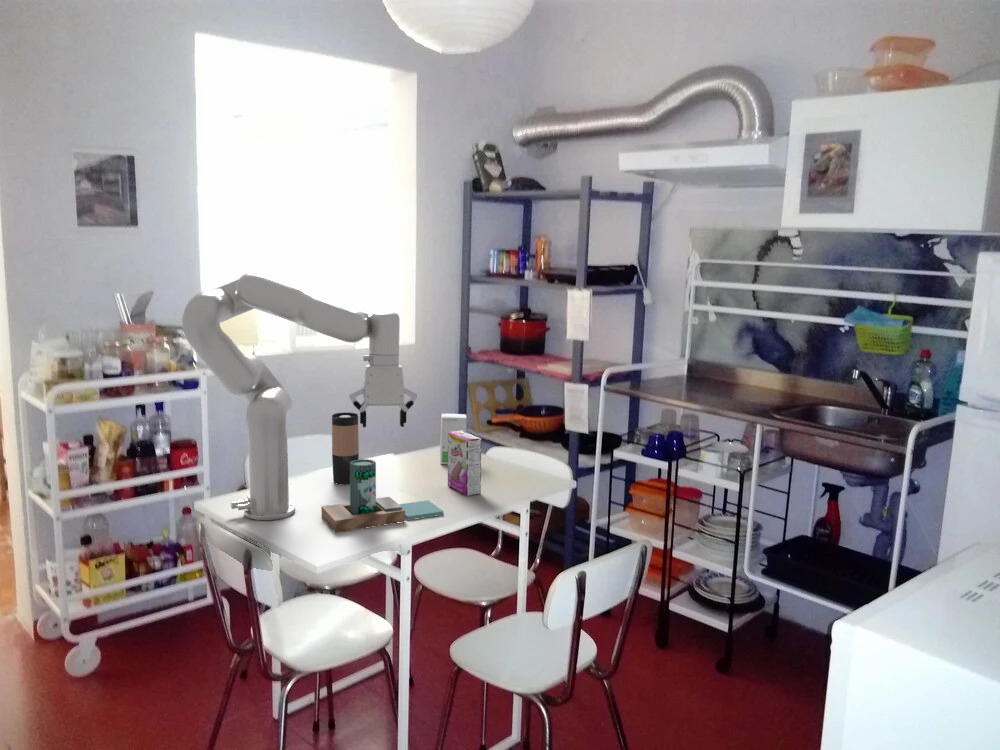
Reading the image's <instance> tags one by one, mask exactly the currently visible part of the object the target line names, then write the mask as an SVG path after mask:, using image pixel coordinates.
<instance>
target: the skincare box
mask: <svg viewBox="0 0 1000 750" xmlns="http://www.w3.org/2000/svg"><path fill="white" fill-rule="evenodd" d="M440 416H441V419H440V439H439V440H440V447H439V464H440V465H448V432H452V431H461V430H462V431H464V432H466V433H467V420H468V417H467V414H465V413H464V414H462V413H441V415H440Z"/></svg>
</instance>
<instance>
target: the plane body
mask: <svg viewBox="0 0 1000 750" xmlns="http://www.w3.org/2000/svg"><path fill="white" fill-rule="evenodd" d="M399 504H400V503H398V502H396V501H395V500H394V499H393V498H392V497H391V496H386V497H385V496H384V497H379V498H377V497H376V512H373V513H366V514H359V515H352V514H351V513H350V501H349V502H343V503H336V504H329V505H321V506H320V507H321V519H322V520H323V521H324V522H325V523H326V524H327V525H328V526H329V528H330V529H331V530H332V531H333V532H334V533H342V532H349V531H355V530H356V531H357V530H361V528H363V529H367V528H366V527H370V528H373V527H372V526H376V527H379V526H378V525H383V526H385V525H384V524H389V525H391V524H390V523H396V524H398V523H397V522H403V523H405V522H406V519H405V510H404V509H402V507H401V506H400V505H399ZM404 521H405V522H404Z"/></svg>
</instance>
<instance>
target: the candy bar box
mask: <svg viewBox="0 0 1000 750" xmlns="http://www.w3.org/2000/svg"><path fill="white" fill-rule="evenodd" d="M481 477H482V438H481V437H478V436H476V435H473V434H471V433H470V432H467V431H466V432H464V431H462V430H461V431H452V432H448V464H447V487H449V488H451V489H453V490H454V489H455V491H457V492H459V493H460V494H462V495H464V496H465V497H471V495H472V496H475V495H481V493H482V491H481V490H482V489H481V484H482V483H481V482H482V478H481Z"/></svg>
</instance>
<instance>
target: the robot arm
mask: <svg viewBox="0 0 1000 750" xmlns="http://www.w3.org/2000/svg"><path fill="white" fill-rule="evenodd" d="M254 309H255V310H258V311H261V312H265V313H266V314H270V315H273V316H275V317H279V318H281V319H285V320H286V321H289V322H291V323H292V322H293V323H295V324H297V325H299V326H302V327H305V328H306V329H310V330H312V331H314V332H317V333H319V334H322V335H325V336H327V337H331V338H333V339H337V340H339V341H343V342H345V343H359V342H360V341H362V340H363V339H365V338H368V340H369V341H368V342H369V345H368V346H369V350H368V354H367V355H363V359H362V360H363V362H367V363H368V364H367V365H366V367H365V371H364V372H365V373H364V379H363V387H361V388H359V389H357V390H355V391H353V392H351V393H349V394H348V396H349V400H350V401H351V403H352V404H353V406H354V407H355V408H356V409H357V410H358V411H359V420H360V421H359V424H360V425H361V424H362V428H363V429H364V428H366V427H367V408H368V407H369V406H371V407H372V406H374V407H375V406H377V407H379V406H382V407H383V406H384V407H386V406H399V407H400V411H399V425H400V427H401V428H404V427H405V424H406V423H407V413H408V411H409V410H410V408H412V407H413V405H414V403H415V402H416V400H417V398H418V394H417V393H416V392H414V391H412V390H411V389H408V388H407V387H405V383H404V382H405V381H404V378H405V377H404V371H403V366H402V365H400V326H401V325H400V324H401V323H400V315H399V314H398V313H397V312H395V311H394V312H393V311H373V312H372V311H366V310H360V309H349V310H348V309H345V308H342V307H338V306H337V305H336V306H335V305H333V304H330V303H328V302H326V301H324V300H322V299H319V298H318V297H316V296H315V295H314V294H312V293H311V292H309V291H308V290H307V289H304V288H301V287H297V286H294V285H292V284H289V283H287V282H284V281H281V280H277V279H276V278H275V279H274V278H272V277H271V276H270V275H269V274H268V273H265V272H262V271H252V272H247V273H244V274H243V275H241V276H240V278H239V279H236V280H234V281H231V282H229V283H226V284H223V285H221V286H218V287H216V288H214V289H210V290H204V291H201V292H198V293H197V294H194V296H193V297H191V298H190V300H189V301H188V302H187V304H186V306H185V308H184V310H183V314H182V318H181V323H182V332H183V334H184V336H185V338H186V340H187V342H188V343H189V345H190V346H191V348H192V349H193V350H194V352H195V353H196V354H197V356H199V357H200V359H201V360H202V361H203V362H204V363H205V366H207V367H208V369H209V370H210V371H211V373H213V375H214V376H215V377H216V378H217V380H218V381H219V383H220V384H221V385H222V386H223V387H224V389H225V390H226V391H227V392H228V393H230V394H231V395H234V396H238V397H242V396H243V397H244V398H246V400H247V401H248V402H249V403H248V404H247V407H246V412H245V423H246V431H247V441H248V444H247V445H248V465H249V470H248V471H249V494H247V496H246V497H247V498H243V500H233V501H230V507H231V510H235V509H237V510H238V511H244V512H243V513H244V514H243V516H245V517H246V518H247V519H251V520H254V521H274V520H280V519H284V518H288V517H289V516H290V517H291V516H292V515H293V514H294V513H296V506H295V505H294V504H293V503H292V502H289V501H290V498H289V497H290V493H289V492H290V491H289V488H290V487H289V452H288V450H289V449H288V432H287V417H288V416H289V415H290V412H291V410H292V407H293V406H292V404H293V403H292V399H291V396H290V394H289V393H288V390H287V389H286V388H285V387H284V385H282V383H281V382H280V381H279V380H278V378H277V377H276V375H274V373H273V372H272V371H271V370H270V369H269V367H268V366H267V365H266V364H265V363H264V362H263V360H261V359H260V358H259V357H258V356H255V355H254V354H251V353H243V352H242V351H241V350H240V348H238V346H237V345H236V343H234V341H233V340H232V339H231V337H230V336H228V334H227V333H226V332H224V331H223V329H222V328H221V324H220V323H224V322H225V321H229V320H230V319H232V318H236V317H237V316H240V315H242V314H244V313H247V312H250V311H252V310H254ZM361 395H363V402H361V403H360V402H359V401H358V399H357V397H359V396H361ZM405 395H407V396H409V397H410V398H409V400H408V401H407V402H405ZM404 402H405V403H404Z"/></svg>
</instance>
